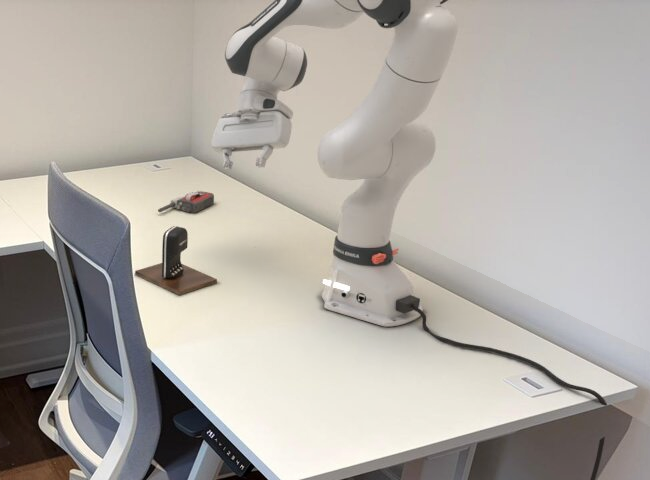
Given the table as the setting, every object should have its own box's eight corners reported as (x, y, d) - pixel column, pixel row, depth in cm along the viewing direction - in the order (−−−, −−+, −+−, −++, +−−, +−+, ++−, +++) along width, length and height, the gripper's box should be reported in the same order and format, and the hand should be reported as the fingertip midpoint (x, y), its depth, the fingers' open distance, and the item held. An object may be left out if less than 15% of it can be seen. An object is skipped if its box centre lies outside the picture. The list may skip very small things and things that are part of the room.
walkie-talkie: (192, 197, 259) (155, 214, 245) (192, 183, 256) (155, 199, 242) (217, 203, 254) (181, 220, 240) (218, 188, 252) (181, 205, 238)
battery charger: (175, 281, 199) (177, 235, 194) (160, 278, 201) (162, 232, 195) (188, 271, 205) (190, 226, 199) (174, 269, 206) (175, 223, 200)
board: (216, 283, 201) (217, 279, 201) (179, 295, 195) (179, 291, 194) (172, 263, 212) (172, 259, 212) (135, 274, 206) (135, 270, 205)
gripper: (212, 109, 204) (200, 164, 203) (285, 100, 190) (272, 160, 189) (227, 119, 208) (215, 174, 208) (299, 111, 194) (286, 170, 194)
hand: (243, 167), depth 198 cm, fingers open, 8 cm apart
